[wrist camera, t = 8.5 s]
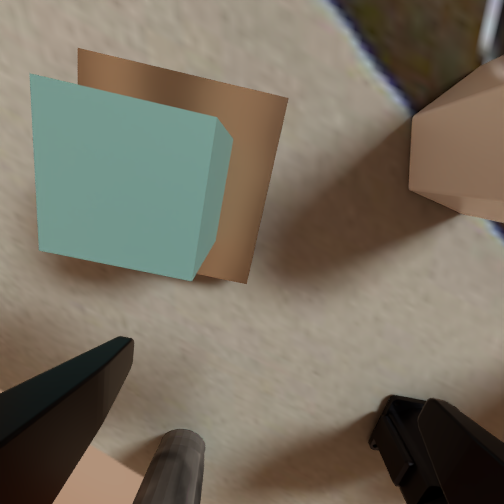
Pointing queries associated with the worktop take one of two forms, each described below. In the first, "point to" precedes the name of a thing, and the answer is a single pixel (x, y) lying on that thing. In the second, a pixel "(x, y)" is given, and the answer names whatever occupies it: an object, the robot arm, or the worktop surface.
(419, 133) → the jar
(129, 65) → the walnut base
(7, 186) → the worktop surface
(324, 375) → the worktop surface
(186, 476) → the beverage cup
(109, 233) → the teal block
